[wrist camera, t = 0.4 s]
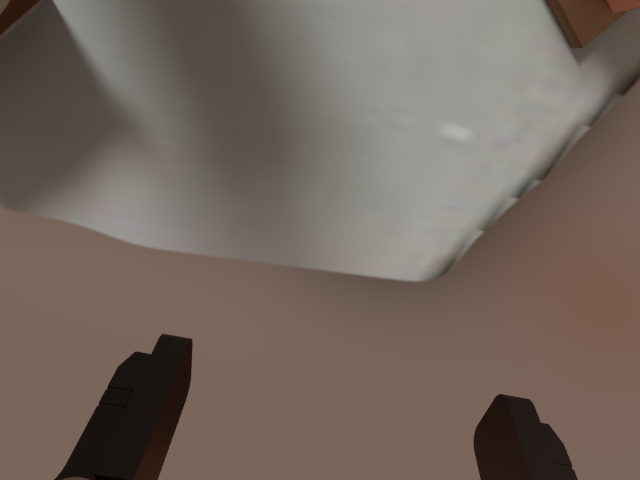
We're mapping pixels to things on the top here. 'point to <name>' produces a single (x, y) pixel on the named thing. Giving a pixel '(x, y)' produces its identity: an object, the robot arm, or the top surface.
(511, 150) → the top surface
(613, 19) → the brown wooden base
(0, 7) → the food container
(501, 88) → the top surface
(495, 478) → the robot arm
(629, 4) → the terracotta key
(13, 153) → the top surface
